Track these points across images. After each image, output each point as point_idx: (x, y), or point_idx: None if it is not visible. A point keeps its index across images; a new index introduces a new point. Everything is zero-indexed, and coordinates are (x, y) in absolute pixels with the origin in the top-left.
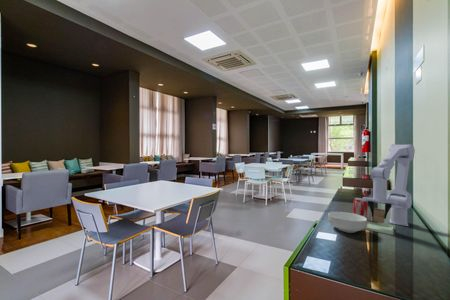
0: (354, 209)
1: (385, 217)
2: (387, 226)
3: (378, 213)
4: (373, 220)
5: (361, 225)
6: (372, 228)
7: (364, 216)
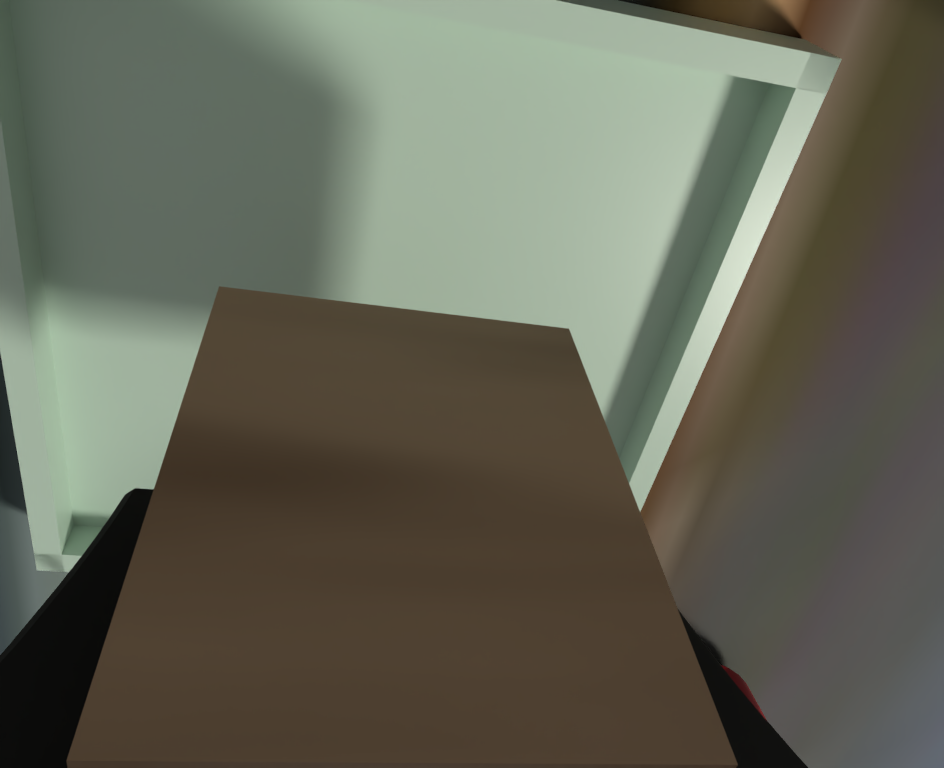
0: None
1: (128, 522)
2: None
3: (445, 583)
4: (572, 350)
5: None
6: (610, 11)
7: None
